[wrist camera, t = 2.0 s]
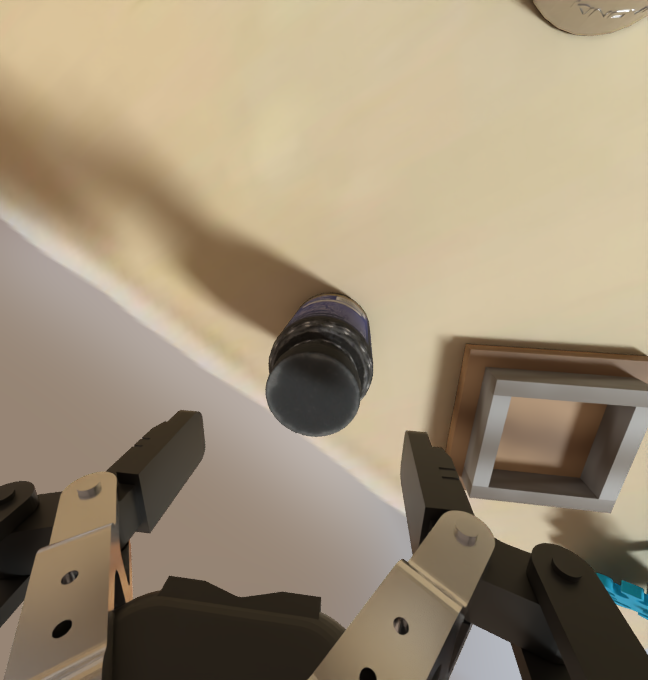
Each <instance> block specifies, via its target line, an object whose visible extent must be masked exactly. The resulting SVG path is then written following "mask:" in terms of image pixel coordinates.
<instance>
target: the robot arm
mask: <svg viewBox="0 0 648 680" xmlns="http://www.w3.org/2000/svg"><path fill="white" fill-rule="evenodd" d="M533 3H534V4H535V6H536V7H537V8H538V10H539V11H540V12H541V14H542V15H543V17H544V18H546V19H547V20H548V21H549V22H551V23H552V24H553V25H554V26H556V27H557V28H559V29H562V30H564V31H567V32H569V33H572V34H576V35H586V36H594V35H601V34H608V33H612V32H615V31H617V30H620V29H623V28H626V27H628V26H630V25H632V24H634V23H635V22H637V21H639V20H641V19H642V18H644V17H646V16H647V15H648V0H533ZM204 452H205V439H204V429H203V419H202V415H201V413H200V412H197V411H186V410H180V411H178V412H177V413H176V414H175V415H174V416H173V417H172V418H171V419H170V420H169V421H168V422H163V423H161V424H159V425H158V426H156V427H154V428H152V429H151V430H150V431H149V432H148V433H147V434H146V435H144V436H143V437H142V439H140V440H139V441H138V442H137V443H136V444H135V446H134V447H131V449H129V450H128V451H127V452H126V453H125V454H124V455H123V456H122V457H121V458H120V459H119V460H118V461H116V462H115V463H114V464H113V465H112V466H111V467H110V468H109V469H108V470H107V471H106V472H96V473H92V474H88V475H86V476H83V477H81V478H79V479H77V480H76V481H74V482H72V483H71V484H70V485H69V486H67V487H66V488H65V490H64V491H62V492H55V493H47V494H40V495H37V493H36V490H35V487H34V485H33V484H32V483H30V482H27V481H19V482H13V483H9V484H5V485H3V486H0V627H1V626H2V625H3V624H4V623H5V622H6V620H7V619H8V618H9V617H10V616H11V614H12V613H13V612H14V611H15V610H16V609H17V607H18V606H19V605H20V604H21V603H22V602H23V601H24V603H23V607H22V611H21V614H20V618H19V622H18V626H17V630H16V633H15V638H14V641H13V645H12V649H11V653H10V657H9V661H8V664H7V668H6V672H5V676H4V680H449V677H450V675H451V673H452V671H453V668H454V666H455V664H456V662H457V659H458V657H459V655H460V652H461V650H462V648H463V646H464V643H465V641H466V639H467V636H468V634H469V632H470V630H471V627H472V625H473V624H474V625H476V626H478V627H480V628H482V629H484V630H486V631H488V632H490V633H493V634H494V635H496V636H499V637H500V638H502V639H505V640H506V641H509V642H510V643H511V646H512V649H513V652H514V655H515V658H516V661H517V665H518V668H519V671H520V674H521V677H522V680H648V655H647V653H646V651H645V650H644V648H643V647H642V645H641V643H640V642H639V640H638V639H637V637H636V636H635V634H634V632H633V631H632V629H631V628H630V626H629V624H628V623H627V621H626V620H625V618H624V617H623V615H622V613H621V612H620V610H619V609H618V607H617V606H616V604H615V602H614V601H613V599H612V598H611V596H610V594H609V593H608V591H607V590H606V588H605V587H604V585H603V583H602V582H601V580H600V579H599V577H598V576H597V574H596V573H595V571H594V570H593V569H592V568H591V567H590V566H589V565H588V564H587V563H586V562H585V561H584V560H583V559H582V558H580V557H579V556H578V555H576V554H575V553H573V552H571V551H569V550H568V549H565V548H563V547H561V546H558V545H554V544H549V543H542V544H538V545H536V546H535V547H534V548H533V550H532V553H528V552H526V551H523V550H520V549H518V548H515V547H513V546H510V545H507V544H505V543H503V542H501V541H499V540H497V539H496V538H494V536H493V534H492V532H491V530H490V529H489V528H488V526H487V525H486V524H485V523H484V522H482V521H481V520H480V519H479V518H477V517H475V515H474V513H473V511H472V508H471V506H470V503H469V501H468V498H467V496H466V493H465V491H464V488H463V486H462V483H461V481H460V480H459V476H458V473H457V471H456V468H455V466H454V463H453V461H452V458H451V457H450V456H449V455H448V454H447V453H446V452H445V451H444V450H443V449H442V448H439V447H432V446H431V443H430V440H429V437H428V434H427V433H426V432H417V431H406V432H405V437H404V444H403V452H402V460H401V471H400V475H401V486H402V492H403V498H404V504H405V510H406V517H407V523H408V529H409V535H410V541H411V548H412V554H413V556H412V557H411V559H410V560H409V561H408V562H407V561H405V560H404V559H401V560H400V561H398V563H397V564H396V565H395V566H394V567H393V569H392V570H391V571H390V572H389V574H388V575H387V576H386V578H385V579H384V580H383V582H382V583H381V584H380V586H379V587H378V588H377V590H376V591H375V592H374V594H373V595H372V596H371V598H370V599H369V600H368V601H367V603H366V604H365V605H364V607H363V608H362V609H361V611H360V612H359V613H358V615H357V616H356V617H355V619H354V620H353V621H352V623H351V624H350V625H349V627H348V628H347V629H345V628H344V627H342V626H341V625H340V624H339V623H338V622H337V621H335V620H334V619H332V618H331V617H329V616H327V615H325V614H323V613H321V597H316V596H308V595H302V594H295V593H287V592H278V593H270V594H264V595H256V596H249V597H237V596H235V595H233V594H231V593H229V592H227V591H225V590H223V589H220V588H218V587H217V586H214V585H212V584H210V583H208V582H206V581H202V580H195V579H188V578H181V577H174V576H169V577H168V579H167V581H166V582H165V584H164V586H163V588H162V589H161V590H160V591H155V592H151V593H148V594H145V595H143V596H140V597H137V598H135V599H133V589H132V555H131V542H130V538H131V537H132V535H133V534H134V533H135V532H144V533H151V531H152V530H153V528H154V527H155V526H156V524H157V523H158V521H159V520H160V518H161V517H162V515H163V514H164V513H165V511H166V510H167V508H168V507H169V505H170V504H171V503H172V501H173V500H174V498H175V497H176V496H177V494H178V493H179V491H180V490H181V489H182V487H183V486H184V484H185V483H186V482H187V480H188V479H189V477H190V476H191V474H192V473H193V472H194V470H195V469H196V467H197V466H198V464H199V463H200V462H201V460H202V458H203V455H204Z"/></svg>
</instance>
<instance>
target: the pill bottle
mask: <svg viewBox="0 0 648 680" xmlns="http://www.w3.org/2000/svg"><path fill="white" fill-rule="evenodd" d="M269 373H270V374H269V377H268V380H267V383H266V399H267V402H268V406H269V408H270V410H271V412H272V413H273V415H274V416H275V418H276V419H277V420H278V421H279V422H280V423H281V424H282V425H284V426H285V427H286V428H288V429H290V430H291V431H294V432H295V433H300V434H302V435H306V436H315V437H318V436H327V435H331V434H333V433H336V432H338V431H340V430H341V429H343V428H345V427H346V426H347V425H348V424H349V423H350V422H351V421H352V420H353V418H354V417H355V415H356V413H357V411H358V409H359V405H360V401H361V400H362V399H363V397H364V396H365V395H366V393H367V391H368V389H369V387H370V384H371V381H372V377H373V358H372V348H371V335H370V327H369V321H368V318H367V316H366V313H365V312H364V310H363V309H362V308H361V306H359V305H358V304H357V302H355V301H354V300H352V299H351V298H349V297H346V296H344V295H342V294H338V293H324V294H320V295H316V296H314V297H312V298H310V299H309V300H307V301H306V302H305V303H304V304H303V305H302V306H301V307H300V309H299V310H298V311H297V313H296V314H295V315H294V317H293V318H292V319H291V321H290V322H289V323H288V325H287V326H286V327H285V329H284V330H283V331H282V333H281V334H280V335H279V336H278V337H277V340H276V341H275V342H274V344H273V347H272V350H271V353H270V356H269Z"/></svg>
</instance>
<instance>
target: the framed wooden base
mask: <svg viewBox="0 0 648 680" xmlns="http://www.w3.org/2000/svg"><path fill="white" fill-rule="evenodd" d="M647 428H648V356H639V355H624V354H608V353H593V352H578V351H563V350H548V349H533V348H518V347H503V346H488V345H473V344H466V346H465V352H464V357H463V362H462V367H461V373H460V378H459V383H458V388H457V394H456V399H455V404H454V409H453V414H452V420H451V425H450V430H449V435H448V441H447V446H446V451H445V452H446V453H447V454H448V455H449V456H450V457H451V458H452V461H453V463H454V466H455V468H456V471H457V473H458V476H459V480H460V481H461V483H462V486H463V488H464V490H467V492H468V495H469V497H470V498H479V499H488V500H497V501H506V502H515V503H524V504H533V505H542V506H551V507H560V508H569V509H578V510H587V511H596V512H605V513H611V511H612V509H613V507H614V504H615V502H616V500H617V497H618V495H619V493H620V490H621V488H622V486H623V483H624V481H625V479H626V476H627V474H628V472H629V470H630V467H631V465H632V463H633V460H634V458H635V456H636V453H637V451H638V449H639V446H640V444H641V442H642V439H643V437H644V435H645V433H646V430H647Z"/></svg>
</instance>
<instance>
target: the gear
mask: <svg viewBox="0 0 648 680" xmlns="http://www.w3.org/2000/svg"><path fill="white" fill-rule="evenodd" d="M595 573H596V572H595ZM596 574H597V576H598V577H599V579H600V580H601V582H602V583H603V585H604V587H605V588H606V590H607V591H608V593H609V594H610V596H611V598H612V599H613V601H614V602H615V604H617V605H619V606H622V607H625V608H628V609H631V610H634V611H636V612H638V615H640V616H642V617H643V618H645V619H647V620H648V582H647V594H645V593H644V589H643V588H641V587H639V586H636V585H634V584H631V583H629V582H626V581H623V580H621V585H618V584H616V583H614V582H613V580H612V579H611V578H609V577H607V576H605V575H602V574H599V573H596Z"/></svg>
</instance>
